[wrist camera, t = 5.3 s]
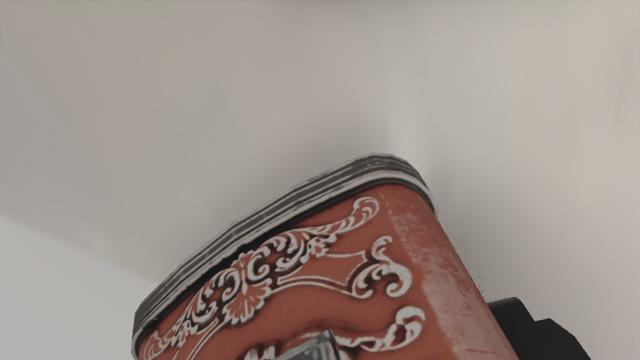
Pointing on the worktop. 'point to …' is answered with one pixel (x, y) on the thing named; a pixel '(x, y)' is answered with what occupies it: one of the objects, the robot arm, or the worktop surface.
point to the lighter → (326, 280)
